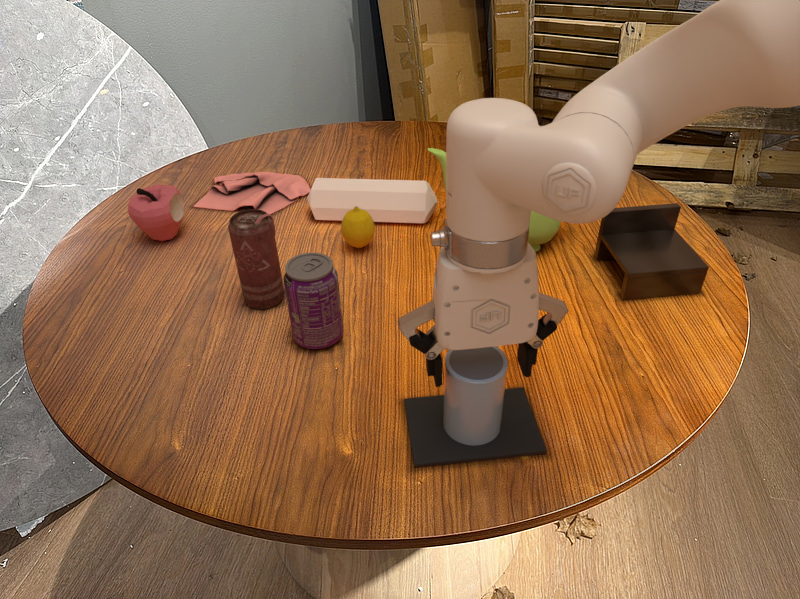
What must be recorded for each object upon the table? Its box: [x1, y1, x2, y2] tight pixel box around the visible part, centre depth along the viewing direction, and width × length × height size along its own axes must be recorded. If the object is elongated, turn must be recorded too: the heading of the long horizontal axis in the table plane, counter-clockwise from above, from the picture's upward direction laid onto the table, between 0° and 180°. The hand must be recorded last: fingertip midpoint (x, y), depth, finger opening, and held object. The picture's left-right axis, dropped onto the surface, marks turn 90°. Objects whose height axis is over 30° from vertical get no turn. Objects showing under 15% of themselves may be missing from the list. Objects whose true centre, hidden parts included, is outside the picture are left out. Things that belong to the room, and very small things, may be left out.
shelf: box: [593, 202, 710, 301], centre depth 94 cm, size 12×12×9 cm
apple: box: [127, 183, 185, 242], centre depth 106 cm, size 10×9×10 cm
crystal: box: [306, 177, 439, 224], centre depth 112 cm, size 7×7×24 cm
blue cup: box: [443, 346, 509, 446], centre depth 70 cm, size 7×7×10 cm
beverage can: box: [282, 252, 344, 350], centre depth 83 cm, size 7×7×12 cm
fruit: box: [340, 206, 376, 249], centre depth 102 cm, size 6×6×8 cm
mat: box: [403, 386, 548, 469], centre depth 73 cm, size 15×10×1 cm, turn 96°
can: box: [227, 209, 286, 310], centre depth 90 cm, size 6×6×14 cm
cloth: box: [192, 171, 311, 215], centre depth 121 cm, size 20×22×2 cm
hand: (480, 373), depth 67 cm, fingers open, 9 cm apart
